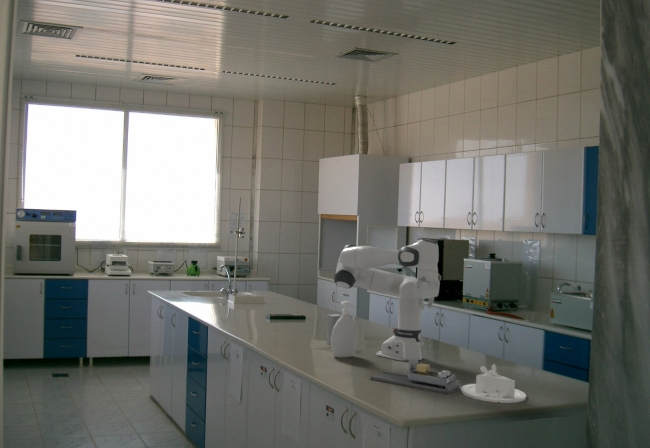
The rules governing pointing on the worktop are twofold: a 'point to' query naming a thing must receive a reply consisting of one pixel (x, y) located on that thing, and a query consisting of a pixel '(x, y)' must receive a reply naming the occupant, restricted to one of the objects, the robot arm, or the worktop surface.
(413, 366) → the long grey tray
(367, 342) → the worktop surface
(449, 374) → the steel puck
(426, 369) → the wooden block
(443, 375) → the steel puck
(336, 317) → the skincare box
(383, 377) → the track
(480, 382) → the dish
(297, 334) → the worktop surface
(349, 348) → the soap bottle
